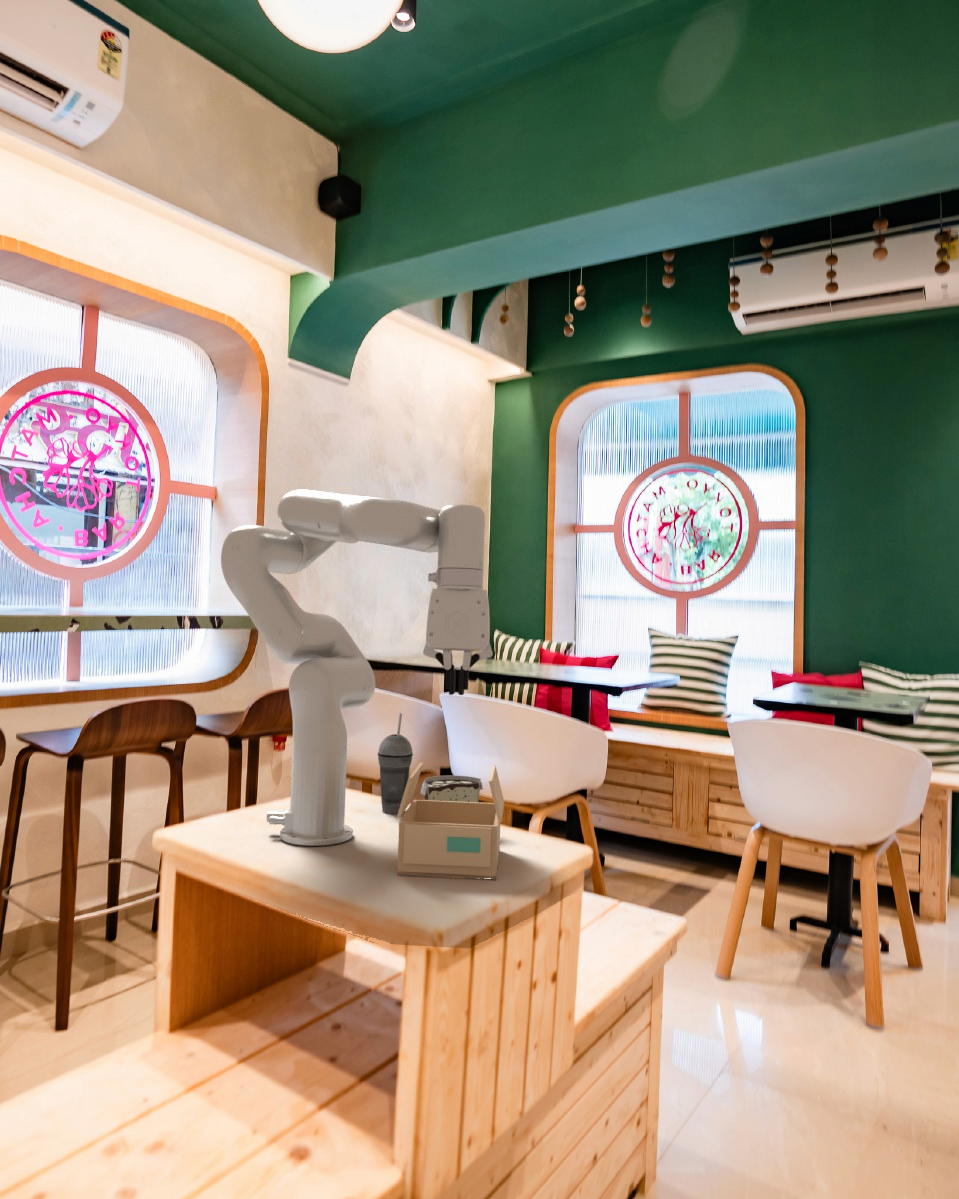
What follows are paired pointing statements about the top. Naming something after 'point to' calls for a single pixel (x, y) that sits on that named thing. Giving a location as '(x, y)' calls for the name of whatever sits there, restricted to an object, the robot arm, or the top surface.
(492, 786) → the right flap
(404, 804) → the left flap
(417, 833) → the carton
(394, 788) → the beverage cup
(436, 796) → the food container
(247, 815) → the top surface
